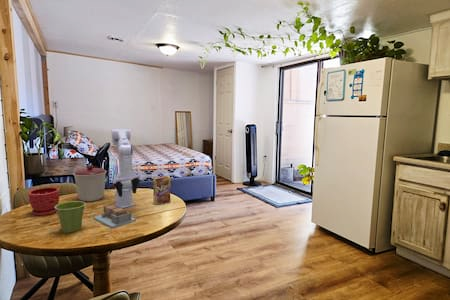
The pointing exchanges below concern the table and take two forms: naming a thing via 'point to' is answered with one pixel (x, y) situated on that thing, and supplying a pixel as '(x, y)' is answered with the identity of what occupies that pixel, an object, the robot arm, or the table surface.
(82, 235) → the table surface
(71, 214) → the plant pot
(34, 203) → the plant pot
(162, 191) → the candy box
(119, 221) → the bracket board
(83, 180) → the canister
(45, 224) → the table surface
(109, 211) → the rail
